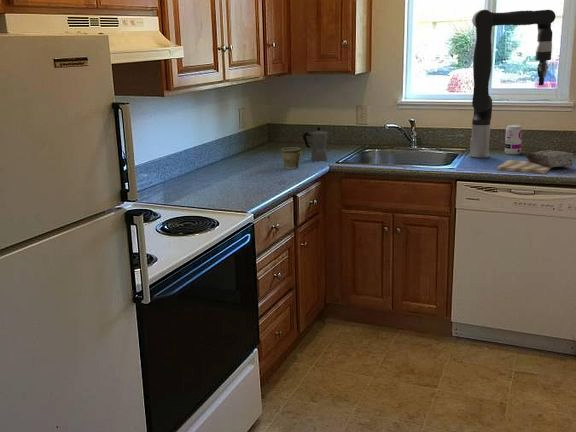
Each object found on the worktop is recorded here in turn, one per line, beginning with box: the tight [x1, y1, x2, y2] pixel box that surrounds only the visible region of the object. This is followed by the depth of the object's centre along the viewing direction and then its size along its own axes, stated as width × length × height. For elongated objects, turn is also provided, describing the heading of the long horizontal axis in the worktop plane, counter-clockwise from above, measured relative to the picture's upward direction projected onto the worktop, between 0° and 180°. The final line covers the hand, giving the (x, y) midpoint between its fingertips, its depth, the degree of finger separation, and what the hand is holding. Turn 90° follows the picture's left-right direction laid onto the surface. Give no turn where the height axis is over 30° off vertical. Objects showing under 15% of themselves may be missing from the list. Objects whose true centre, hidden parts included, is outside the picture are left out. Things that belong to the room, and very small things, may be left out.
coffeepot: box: [302, 126, 332, 162], centre depth 340 cm, size 15×9×18 cm, turn 99°
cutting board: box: [496, 159, 553, 175], centre depth 305 cm, size 22×20×2 cm
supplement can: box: [504, 124, 523, 155], centre depth 342 cm, size 8×8×15 cm
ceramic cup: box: [280, 146, 305, 170], centre depth 321 cm, size 13×10×10 cm
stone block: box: [525, 149, 574, 168], centre depth 306 cm, size 13×7×20 cm
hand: (541, 85), depth 326 cm, fingers closed
